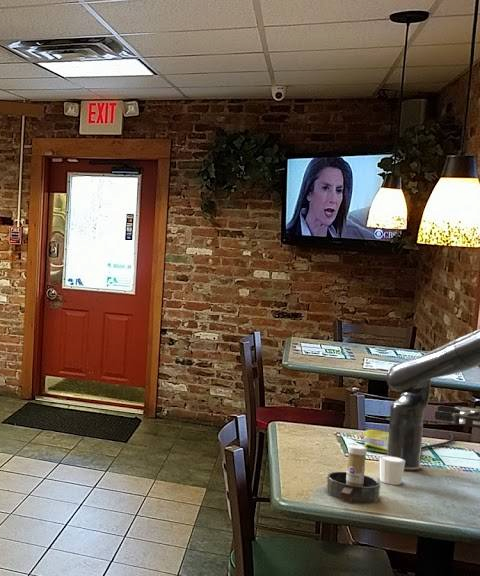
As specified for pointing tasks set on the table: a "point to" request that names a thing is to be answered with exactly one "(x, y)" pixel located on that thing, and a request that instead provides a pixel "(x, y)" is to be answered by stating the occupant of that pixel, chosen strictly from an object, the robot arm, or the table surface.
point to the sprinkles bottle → (356, 465)
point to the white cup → (391, 469)
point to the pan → (360, 494)
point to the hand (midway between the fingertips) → (436, 412)
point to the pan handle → (347, 494)
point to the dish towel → (376, 440)
